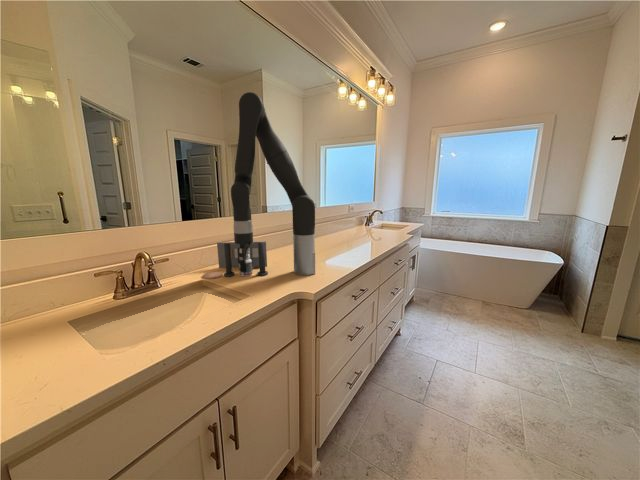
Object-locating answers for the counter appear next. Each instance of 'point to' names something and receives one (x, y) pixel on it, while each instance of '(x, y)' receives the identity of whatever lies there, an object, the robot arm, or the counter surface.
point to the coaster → (212, 275)
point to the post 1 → (228, 261)
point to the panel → (234, 254)
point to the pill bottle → (247, 267)
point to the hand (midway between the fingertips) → (245, 268)
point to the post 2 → (262, 260)
